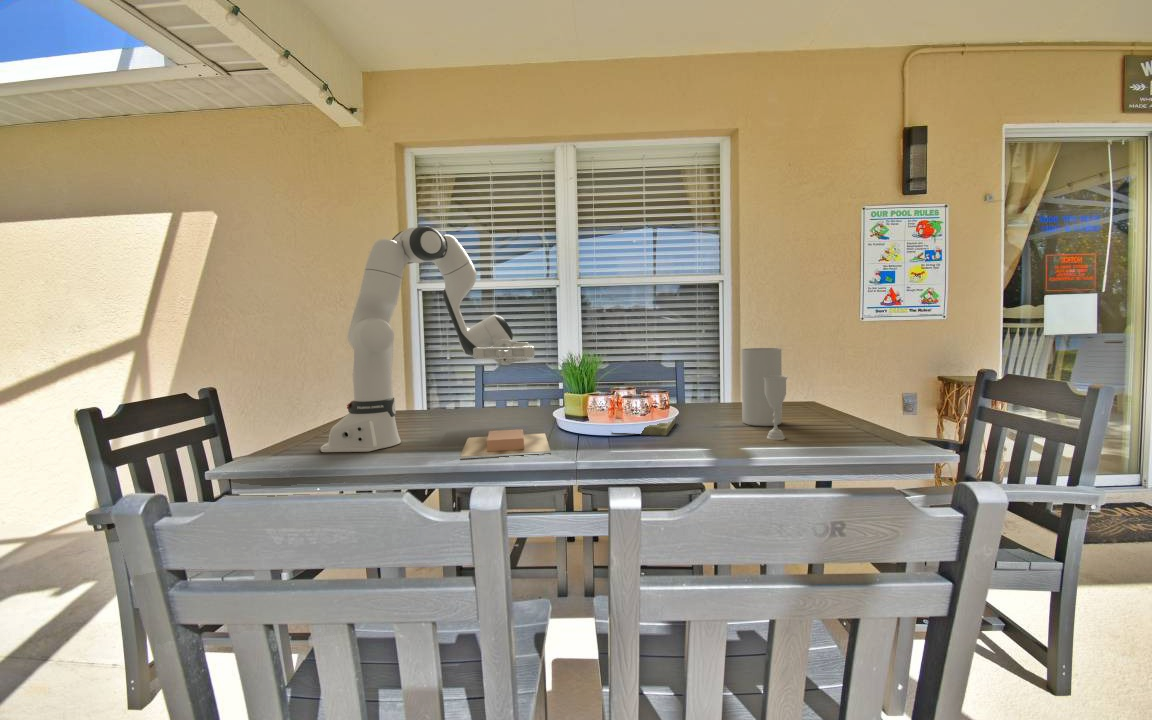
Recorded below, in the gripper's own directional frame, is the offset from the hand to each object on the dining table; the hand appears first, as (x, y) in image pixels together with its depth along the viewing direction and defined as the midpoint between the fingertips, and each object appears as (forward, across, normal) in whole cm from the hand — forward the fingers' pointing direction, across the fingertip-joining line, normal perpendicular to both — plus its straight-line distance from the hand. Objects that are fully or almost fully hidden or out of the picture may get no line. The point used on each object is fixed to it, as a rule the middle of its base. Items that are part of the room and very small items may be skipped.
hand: (503, 353), depth 162 cm
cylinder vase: (+4, +86, +25) cm, 89 cm away
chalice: (+26, +78, +26) cm, 86 cm away
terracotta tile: (+12, 0, +24) cm, 27 cm away
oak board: (+17, 0, +27) cm, 32 cm away
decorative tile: (0, +46, +27) cm, 53 cm away
